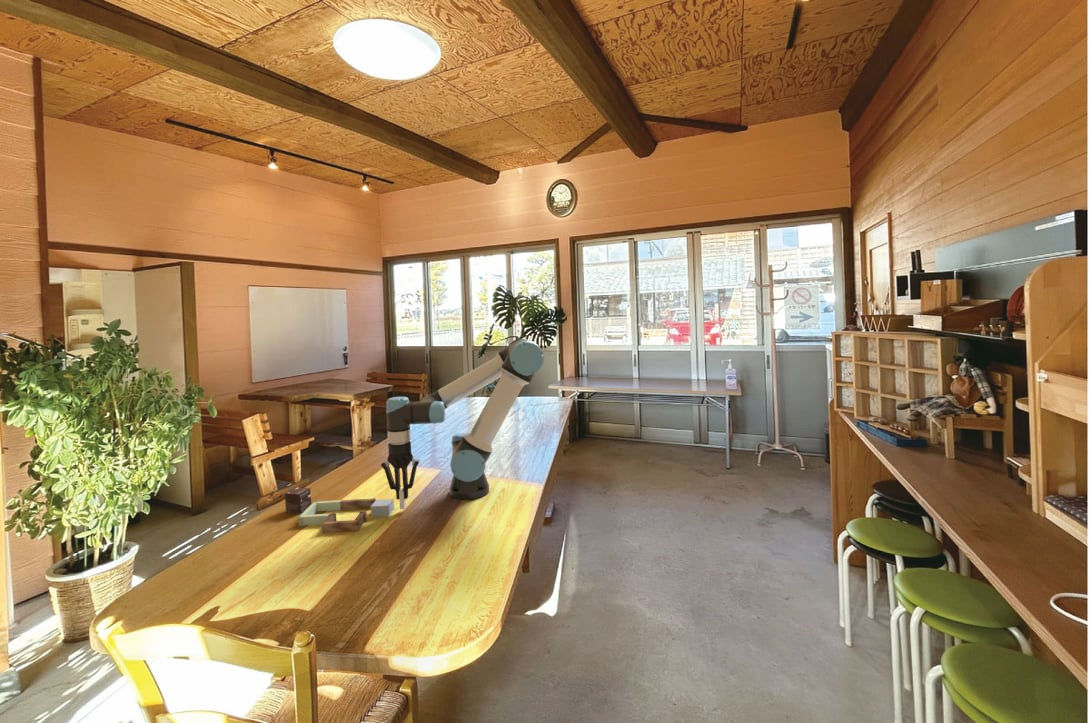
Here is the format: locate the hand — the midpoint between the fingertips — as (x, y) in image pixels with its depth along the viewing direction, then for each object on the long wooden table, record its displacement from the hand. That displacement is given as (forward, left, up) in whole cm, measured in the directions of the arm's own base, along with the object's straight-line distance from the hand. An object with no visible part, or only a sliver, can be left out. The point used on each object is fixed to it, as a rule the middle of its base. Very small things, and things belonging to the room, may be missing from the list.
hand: (402, 507), depth 163 cm
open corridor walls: (+17, +3, -2) cm, 17 cm away
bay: (+27, 0, -2) cm, 27 cm away
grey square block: (+7, 0, -2) cm, 7 cm away
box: (+38, -7, -2) cm, 39 cm away
